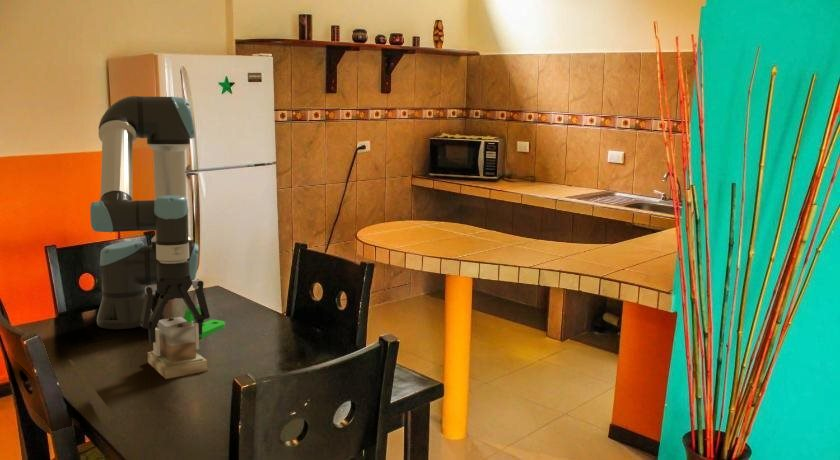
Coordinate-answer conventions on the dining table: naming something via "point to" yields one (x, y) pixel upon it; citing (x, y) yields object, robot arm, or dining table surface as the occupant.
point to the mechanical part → (205, 324)
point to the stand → (177, 365)
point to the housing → (177, 339)
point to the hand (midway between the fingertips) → (176, 351)
